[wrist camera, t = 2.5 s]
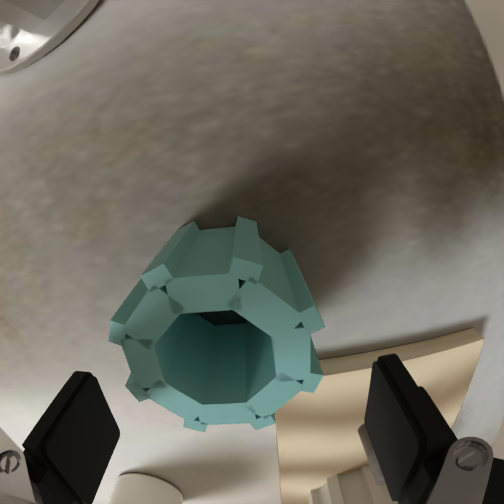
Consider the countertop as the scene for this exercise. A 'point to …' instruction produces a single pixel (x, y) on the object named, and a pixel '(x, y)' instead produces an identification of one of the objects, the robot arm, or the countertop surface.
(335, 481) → the gear
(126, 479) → the can
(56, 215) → the countertop surface
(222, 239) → the teal gear
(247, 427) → the countertop surface
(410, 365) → the board
